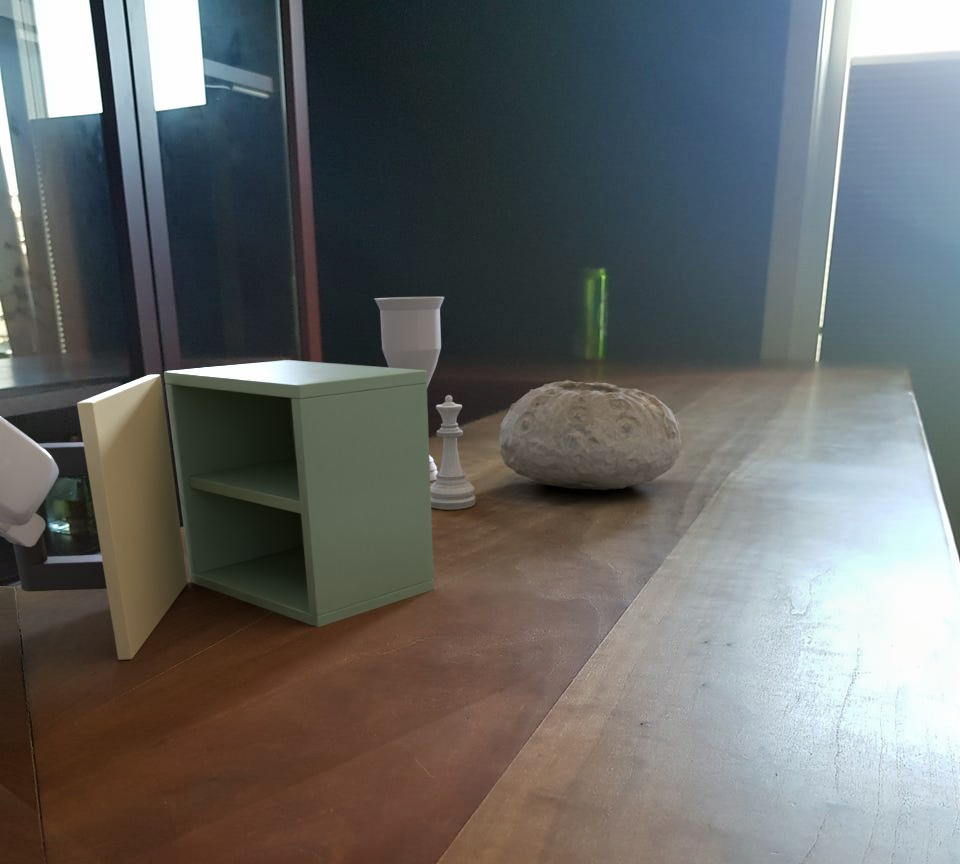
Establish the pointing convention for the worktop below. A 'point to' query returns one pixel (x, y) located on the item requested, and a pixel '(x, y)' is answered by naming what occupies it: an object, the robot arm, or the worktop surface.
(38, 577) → the door
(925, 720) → the worktop surface
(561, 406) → the decorative shell
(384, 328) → the chalice
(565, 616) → the worktop surface
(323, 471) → the cupboard
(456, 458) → the chess piece
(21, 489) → the robot arm
